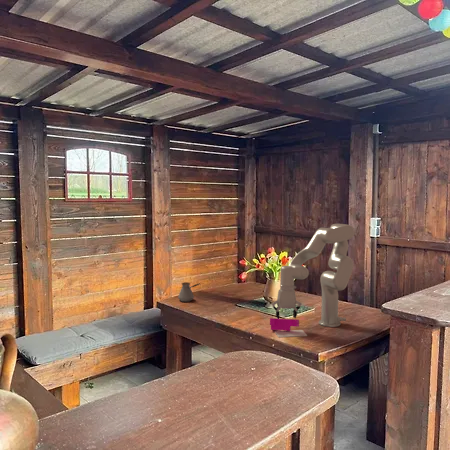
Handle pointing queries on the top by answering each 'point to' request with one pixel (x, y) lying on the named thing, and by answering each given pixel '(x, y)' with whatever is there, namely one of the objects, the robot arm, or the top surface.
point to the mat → (290, 333)
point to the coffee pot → (186, 292)
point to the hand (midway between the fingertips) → (286, 317)
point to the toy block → (283, 324)
